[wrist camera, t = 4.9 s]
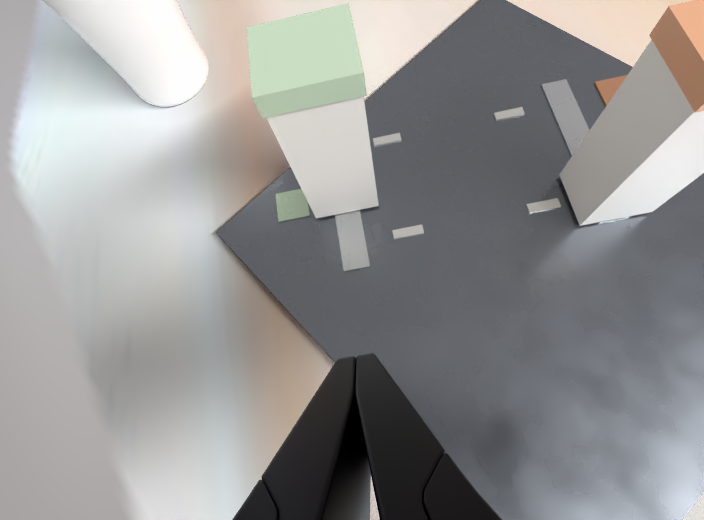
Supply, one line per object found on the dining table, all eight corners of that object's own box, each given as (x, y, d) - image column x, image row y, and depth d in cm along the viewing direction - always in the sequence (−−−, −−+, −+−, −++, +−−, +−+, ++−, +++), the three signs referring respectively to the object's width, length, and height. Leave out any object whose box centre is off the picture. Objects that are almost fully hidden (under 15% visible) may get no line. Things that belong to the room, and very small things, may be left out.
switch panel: (899, 219, 18) (915, 213, 18) (584, 633, 15) (592, 642, 14) (484, -3, 26) (485, -12, 26) (216, 231, 23) (211, 227, 22)
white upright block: (380, 207, 21) (363, 72, 12) (314, 220, 21) (251, 97, 13) (370, 158, 22) (348, 3, 14) (307, 171, 22) (246, 27, 14)
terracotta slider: (655, 213, 19) (865, 57, 10) (578, 227, 19) (720, 87, 11) (628, 159, 20) (798, -23, 11) (556, 173, 20) (668, 6, 12)
